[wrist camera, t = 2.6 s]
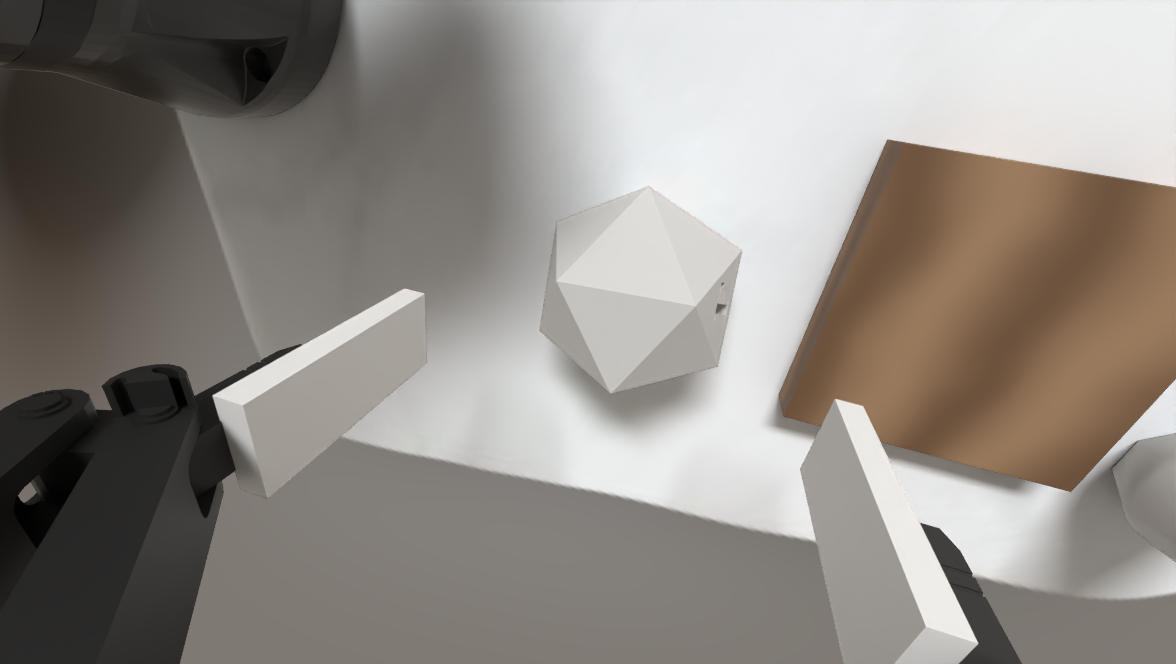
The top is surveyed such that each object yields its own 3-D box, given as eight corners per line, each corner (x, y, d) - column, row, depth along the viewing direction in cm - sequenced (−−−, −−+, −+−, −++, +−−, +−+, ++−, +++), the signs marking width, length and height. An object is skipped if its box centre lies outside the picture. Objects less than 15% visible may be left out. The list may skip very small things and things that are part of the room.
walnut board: (779, 394, 25) (783, 416, 23) (887, 139, 19) (905, 143, 17) (1044, 462, 23) (1071, 491, 21) (1264, 201, 17) (1329, 213, 15)
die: (652, 363, 27) (767, 423, 18) (507, 349, 24) (558, 413, 15) (679, 223, 26) (816, 212, 17) (531, 188, 23) (602, 152, 14)
